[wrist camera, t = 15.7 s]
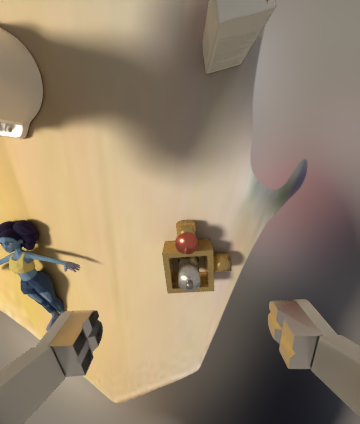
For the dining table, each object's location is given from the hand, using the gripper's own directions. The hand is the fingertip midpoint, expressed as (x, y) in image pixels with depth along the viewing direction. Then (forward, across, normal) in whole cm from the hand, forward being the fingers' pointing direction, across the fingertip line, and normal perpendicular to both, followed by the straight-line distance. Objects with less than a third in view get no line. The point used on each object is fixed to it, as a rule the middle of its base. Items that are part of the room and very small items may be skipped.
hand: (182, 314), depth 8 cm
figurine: (+30, +37, +19) cm, 51 cm away
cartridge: (+29, 0, +17) cm, 34 cm away
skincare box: (+29, -8, -22) cm, 38 cm away
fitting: (+29, -2, +14) cm, 33 cm away
